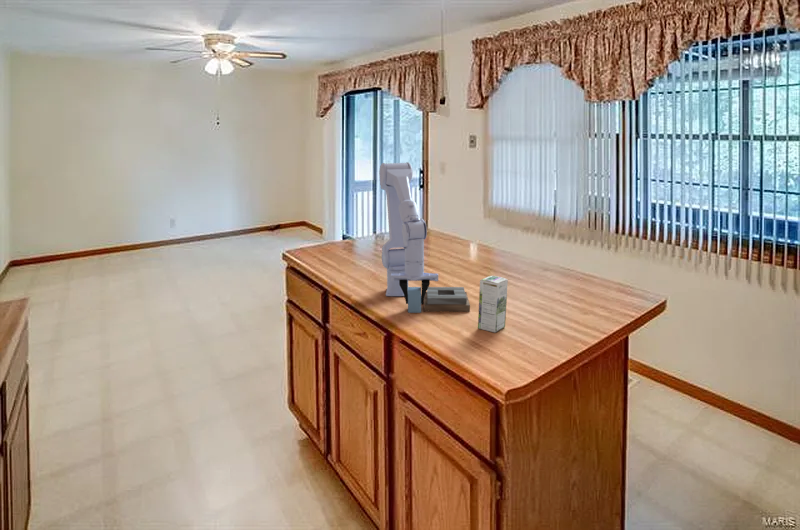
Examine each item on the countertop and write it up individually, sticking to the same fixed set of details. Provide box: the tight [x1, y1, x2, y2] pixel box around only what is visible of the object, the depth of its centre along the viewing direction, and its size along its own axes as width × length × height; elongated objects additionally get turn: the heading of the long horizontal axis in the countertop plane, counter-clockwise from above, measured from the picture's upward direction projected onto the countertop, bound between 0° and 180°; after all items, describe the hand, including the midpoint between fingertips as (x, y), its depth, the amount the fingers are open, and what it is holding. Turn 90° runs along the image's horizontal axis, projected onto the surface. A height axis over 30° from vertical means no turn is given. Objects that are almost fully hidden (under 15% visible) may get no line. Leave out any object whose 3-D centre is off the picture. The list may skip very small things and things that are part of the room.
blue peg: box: [407, 286, 422, 314], centre depth 166 cm, size 4×4×7 cm
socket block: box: [423, 286, 471, 313], centre depth 172 cm, size 14×14×4 cm
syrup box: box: [477, 275, 509, 333], centre depth 150 cm, size 6×6×14 cm
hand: (414, 303), depth 166 cm, fingers closed on blue peg, 4 cm apart
